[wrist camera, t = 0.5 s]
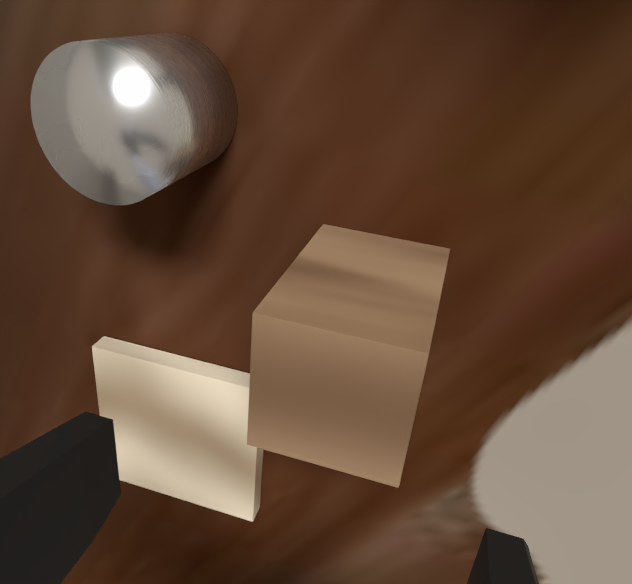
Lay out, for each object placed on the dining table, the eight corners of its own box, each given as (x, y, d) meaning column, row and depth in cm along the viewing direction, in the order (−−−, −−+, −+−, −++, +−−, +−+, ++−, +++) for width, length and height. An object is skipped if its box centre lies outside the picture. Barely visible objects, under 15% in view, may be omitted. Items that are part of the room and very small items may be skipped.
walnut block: (426, 357, 19) (398, 487, 14) (312, 330, 20) (247, 444, 15) (450, 248, 17) (428, 353, 12) (323, 224, 18) (252, 312, 13)
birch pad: (259, 507, 25) (252, 521, 24) (117, 463, 26) (106, 475, 25) (267, 378, 21) (260, 390, 21) (104, 336, 23) (91, 346, 22)
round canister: (236, 177, 18) (174, 218, 15) (125, 156, 19) (42, 191, 16) (239, 41, 16) (169, 51, 13) (116, 25, 17) (19, 30, 14)
